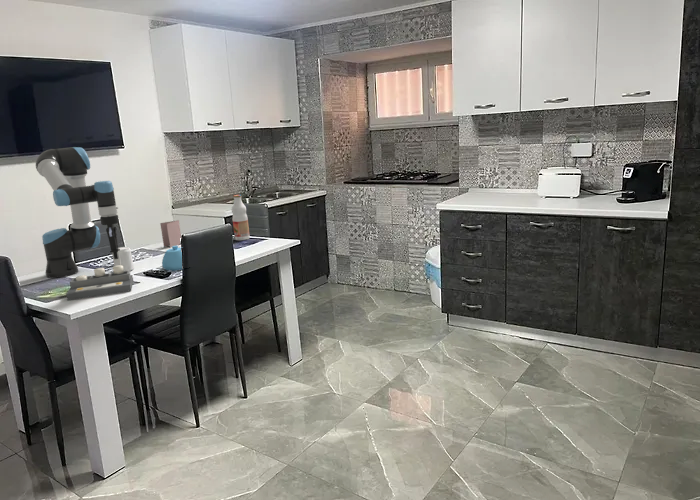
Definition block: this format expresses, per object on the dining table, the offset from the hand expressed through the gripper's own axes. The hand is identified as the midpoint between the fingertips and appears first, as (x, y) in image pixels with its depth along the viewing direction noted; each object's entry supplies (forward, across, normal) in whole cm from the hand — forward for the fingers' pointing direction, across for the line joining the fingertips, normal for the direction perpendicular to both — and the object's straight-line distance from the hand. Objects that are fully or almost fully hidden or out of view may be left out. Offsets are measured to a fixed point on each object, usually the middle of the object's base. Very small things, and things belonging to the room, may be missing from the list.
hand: (117, 265), depth 246 cm
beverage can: (+10, +30, 0) cm, 32 cm away
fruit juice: (+10, +74, -66) cm, 99 cm away
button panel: (+10, -3, +8) cm, 13 cm away
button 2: (+4, 0, 0) cm, 4 cm away
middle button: (+4, 0, +8) cm, 9 cm away
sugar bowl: (+10, +21, -26) cm, 35 cm away
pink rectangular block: (+10, +80, -25) cm, 84 cm away
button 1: (+6, 0, +16) cm, 17 cm away
